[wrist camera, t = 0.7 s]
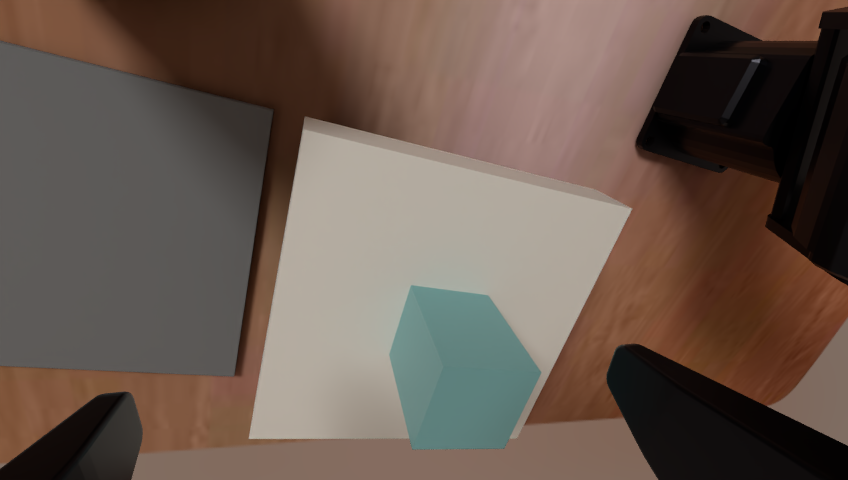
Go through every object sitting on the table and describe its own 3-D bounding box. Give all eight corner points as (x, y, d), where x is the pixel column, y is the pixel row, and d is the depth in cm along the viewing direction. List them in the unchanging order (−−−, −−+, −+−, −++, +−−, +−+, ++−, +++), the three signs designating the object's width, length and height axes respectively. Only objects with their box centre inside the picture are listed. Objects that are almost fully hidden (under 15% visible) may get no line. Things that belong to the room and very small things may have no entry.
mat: (273, 109, 17) (272, 110, 17) (235, 371, 22) (234, 376, 22) (-212, -13, 12) (-228, -15, 12) (-122, 353, 17) (-131, 359, 17)
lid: (595, 189, 17) (730, 260, 11) (498, 402, 21) (563, 528, 16) (304, 116, 13) (299, 170, 8) (255, 393, 17) (229, 557, 12)
